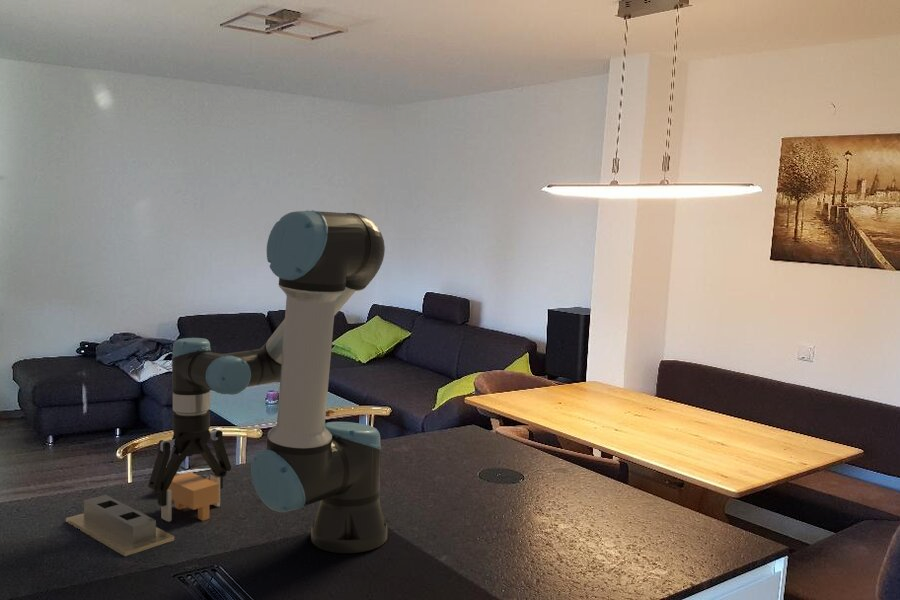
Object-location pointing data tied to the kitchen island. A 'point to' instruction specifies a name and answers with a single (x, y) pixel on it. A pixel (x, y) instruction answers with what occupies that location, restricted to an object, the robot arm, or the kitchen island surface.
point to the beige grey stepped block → (119, 526)
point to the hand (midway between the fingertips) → (191, 512)
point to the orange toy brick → (194, 493)
